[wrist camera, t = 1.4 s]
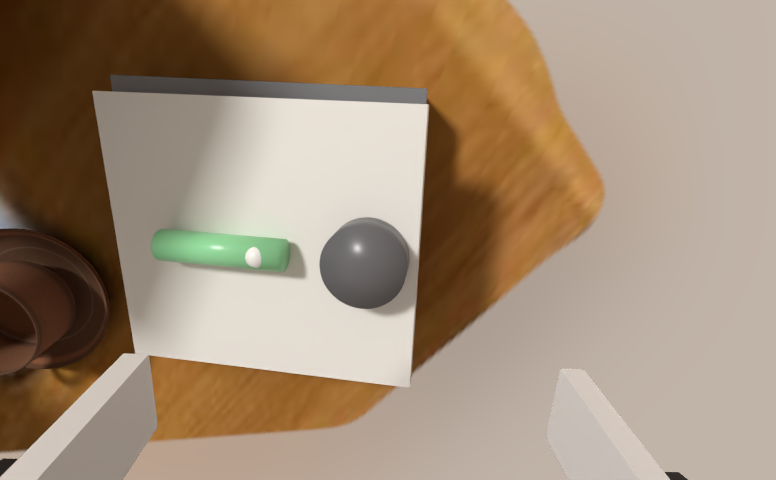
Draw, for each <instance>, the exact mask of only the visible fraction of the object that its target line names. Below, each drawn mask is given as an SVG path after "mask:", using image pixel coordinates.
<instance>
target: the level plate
mask: <svg viewBox="0 0 776 480" xmlns="http://www.w3.org/2000/svg"><path fill="white" fill-rule="evenodd" d="M92 93H93V99H94V105H95V112H96V118H97V124H98V130H99V136H100V142H101V148H102V154H103V160H104V166H105V173H106V179H107V185H108V191H109V197H110V203H111V209H112V215H113V221H114V227H115V233H116V240H117V246H118V252H119V258H120V264H121V270H122V276H123V282H124V288H125V294H126V300H127V307H128V313H129V319H130V325H131V331H132V337H133V343H134V349H135V354H149V355H151V356H159V357H167V358H175V359H183V360H191V361H199V362H207V363H215V364H223V365H231V366H239V367H247V368H255V369H263V370H271V371H279V372H287V373H295V374H303V375H311V376H319V377H327V378H335V379H343V380H351V381H359V382H367V383H375V384H383V385H391V386H399V387H408V388H409V387H410V382H411V376H412V362H413V347H414V332H415V317H416V301H417V286H418V271H419V256H420V240H421V225H422V210H423V195H424V180H425V164H426V149H427V134H428V119H429V104H408V103H384V102H359V101H334V100H310V99H285V98H261V97H236V96H211V95H187V94H162V93H138V92H113V91H92Z"/></svg>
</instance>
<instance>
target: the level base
mask: <svg viewBox="0 0 776 480" xmlns="http://www.w3.org/2000/svg"><path fill="white" fill-rule="evenodd" d="M110 79H111V86H112V91H113V92H138V93H162V94H187V95H211V96H236V97H261V98H285V99H310V100H334V101H359V102H384V103H408V104H426V99H427V89H425V88H402V87H380V86H357V85H334V84H312V83H289V82H266V81H244V80H221V79H198V78H176V77H153V76H130V75H110Z"/></svg>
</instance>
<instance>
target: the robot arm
mask: <svg viewBox="0 0 776 480" xmlns="http://www.w3.org/2000/svg"><path fill="white" fill-rule="evenodd" d="M157 427H158V423H157V415H156V407H155V399H154V391H153V383H152V375H151V367H150V359H149V354H127V353H123V354H122V355H121V356H120V357H119V358H118V359H117V360H116V361H115V362H114V363H113V364H112V365H111V366H110V367H109V368H108V369H107V370H106V371H105V372H104V373H103V374H102V375H101V376H100V377H99V378H98V379H97V380H96V381H95V382H94V383H93V384H92V385H91V386H90V387H89V389H88V390H87V391H86V392H85V393H84V394H83V395H82V396H81V397H80V398H79V399H78V400H77V401H76V402H75V403H74V404H73V405H72V406H71V407H70V408H69V409H68V410H67V411H66V412H65V413H64V414H63V415H62V416H61V417H60V418H59V419H58V420H57V421H56V422H55V423H54V424H53V425H52V426H51V427H50V428H49V429H48V430H47V431H46V432H45V433H44V434H43V435H42V436H41V437H40V438H39V439H38V440H37V441H36V442H35V443H34V444H33V445H32V446H31V447H30V448H29V449H28V450H27V451H26V452H25V453H24V454H23V455H22V456H21V457H20V458H19V459H2V460H0V480H123V478H124V477H125V475H126V474H127V472H128V471H129V469H130V468H131V466H132V465H133V463H134V462H135V460H136V459H137V457H138V456H139V454H140V453H141V451H142V450H143V448H144V447H145V445H146V444H147V442H148V441H149V439H150V438H151V436H152V435H153V433H154V432H155V430H156V429H157ZM546 438H547V440H548V442H549V444H550V446H551V448H552V450H553V452H554V454H555V456H556V458H557V460H558V462H559V464H560V465H561V467H562V469H563V471H564V473H565V475H566V477H567V479H568V480H687V479H686V478H685V477H684V476H683V475H681V474H680V473H678V472H664V471H663V470H662V469H661V467H660V466H659V465H658V464H657V462H656V461H655V460H654V458H653V457H652V456H651V455H650V453H649V452H648V451H647V450H646V448H645V447H644V446H643V444H642V443H641V442H640V441H639V439H638V438H637V437H636V436H635V434H634V433H633V432H632V430H631V429H630V428H629V427H628V426H627V424H626V423H625V422H624V420H623V419H622V418H621V417H620V415H619V414H618V413H617V412H616V410H615V409H614V408H613V406H612V405H611V404H610V403H609V401H608V400H607V399H606V398H605V396H604V395H603V394H602V392H601V391H600V390H599V389H598V387H597V386H596V385H595V384H594V382H593V381H592V380H591V379H590V377H589V376H588V375H587V373H586V372H585V371H584V370H583V369H560V373H559V378H558V382H557V387H556V392H555V396H554V401H553V405H552V410H551V415H550V419H549V424H548V428H547V433H546Z"/></svg>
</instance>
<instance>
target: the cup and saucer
mask: <svg viewBox="0 0 776 480" xmlns="http://www.w3.org/2000/svg"><path fill="white" fill-rule="evenodd" d="M109 317H110V304H109V298H108V294H107V291H106V288H105V286H104V284H103V281H102V280H101V278H100V276H99V275H98V273H97V272H96V270H95V269H94V268H93V266H92V265H91V264H90V263H89V262H88V261H87V260H86V259H85V258H84V257H83V256H82V255H81V254H80V253H78V252H77V251H76V250H74V249H73V248H72V247H70V246H69V245H67V244H65V243H64V242H62V241H60V240H58V239H56V238H54V237H51V236H49V235H46V234H43V233H40V232H36V231H31V230H25V229H0V376H1V375H7V374H11V373H14V372H16V371H18V370H20V369H22V368H23V367H26V368H33V369H50V368H58V367H63V366H66V365H69V364H72V363H74V362H77V361H79V360H81V359H82V358H84V357H85V356H87V355H88V354H89V353H90V352H92V351H93V350H94V349H95V347H96V346H97V345H98V344H99V342H100V341H101V339H102V338H103V336H104V334H105V332H106V329H107V327H108V323H109Z"/></svg>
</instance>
